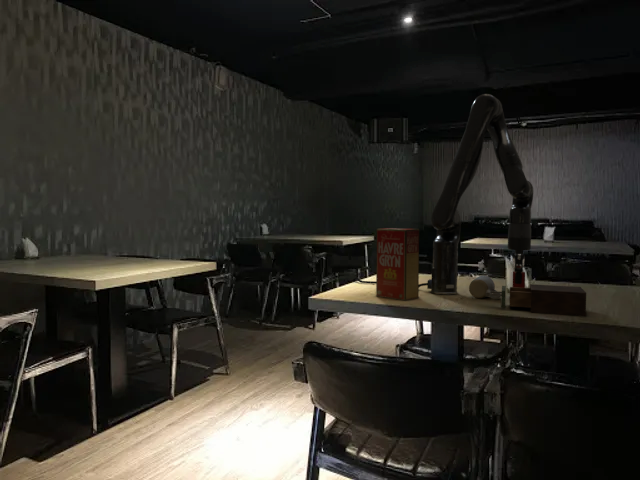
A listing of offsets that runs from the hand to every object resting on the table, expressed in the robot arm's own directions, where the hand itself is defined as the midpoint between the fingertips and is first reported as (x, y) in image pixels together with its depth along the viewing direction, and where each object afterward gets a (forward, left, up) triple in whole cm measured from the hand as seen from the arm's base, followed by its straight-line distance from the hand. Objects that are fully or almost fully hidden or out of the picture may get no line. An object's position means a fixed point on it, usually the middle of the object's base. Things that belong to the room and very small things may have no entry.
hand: (517, 282), depth 173 cm
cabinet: (+11, -15, -7) cm, 20 cm away
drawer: (-1, -15, -6) cm, 16 cm away
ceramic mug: (-11, +1, -7) cm, 13 cm away
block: (0, 0, -7) cm, 7 cm away
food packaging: (-41, -10, -7) cm, 43 cm away
